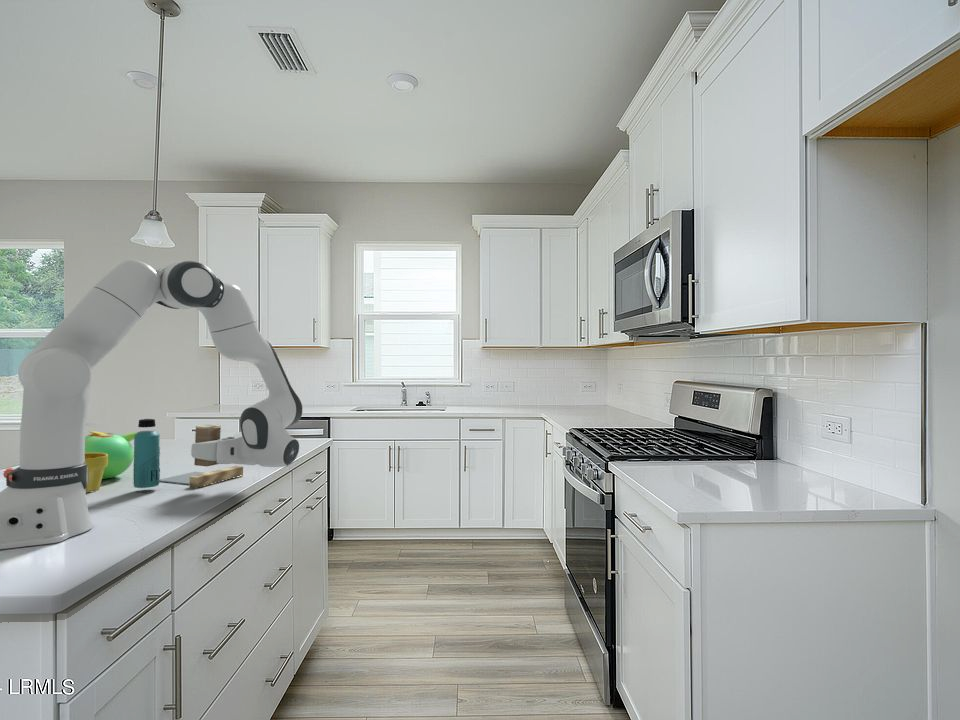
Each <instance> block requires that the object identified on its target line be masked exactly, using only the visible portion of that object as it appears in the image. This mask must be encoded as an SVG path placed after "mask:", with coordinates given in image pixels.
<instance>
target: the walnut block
mask: <svg viewBox="0 0 960 720" xmlns="http://www.w3.org/2000/svg"><path fill="white" fill-rule="evenodd" d="M221 431H222V430H221V425H219V424H218V425H217V424H203V425H195V433H194V434H195V436H194V438H195V439H194V441H195V442H194V443H200V442H207V441H214V440H219V439H221ZM216 465H217V466H218V464H217V461H208V460H202V459H197V458H194V466H199V467H211V466H212V467H213V466H216Z"/></svg>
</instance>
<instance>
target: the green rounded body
mask: <svg viewBox="0 0 960 720" xmlns="http://www.w3.org/2000/svg"><path fill="white" fill-rule="evenodd" d="M88 432H89V434H87V435H85V453H106V454H108V466H107V467H105V470H104V473H103V477H102V480H106V479H111V478H114V477H117V476H119V475H121V474H123V473H125V472H126V471H127V470H128V469H129V468H130V466H131V465H132V464H133V462H134V446H132V444H131V441H134V435H135V434H136V433H138V432H139V431H136V432H130V433H126V434H120V435H118V434H115V433H113V432H112V433H111V432H109V433H108V432H101V431H95V430H93V431H91V430H89V431H88Z"/></svg>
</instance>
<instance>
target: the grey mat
mask: <svg viewBox="0 0 960 720" xmlns="http://www.w3.org/2000/svg"><path fill="white" fill-rule="evenodd" d="M203 473H205V471H204V472H201V471H192V472H187V473H183V474H177V475H174V476H170V477H165V478H159V480H160V481H159V483H167V482H168V483H167V484H169V483H170V484H176V483H177V485H178V484H179V485H184V484H188V485H187V486H189V484H190V476H195V475H199V474H203Z"/></svg>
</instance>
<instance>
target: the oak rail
mask: <svg viewBox="0 0 960 720" xmlns="http://www.w3.org/2000/svg"><path fill="white" fill-rule="evenodd" d="M240 475H243V476H244V466H241V465H233V466H230V467H226V468H221V469H217V470H211V471H207V472H204V473H203V474H199V475H195V476H190V484H189V485H188V487H189V488H193V487H197V488H196V489H198V487H200V488H202V487H201V486H203V487H205V486H204V485H207V486H209V485H208V484H211V483H215V482H218V481H222V480H226V479H229V478H233V477H237V476H240ZM226 481H227V480H226ZM215 484H216V483H215ZM211 485H212V484H211Z"/></svg>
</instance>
